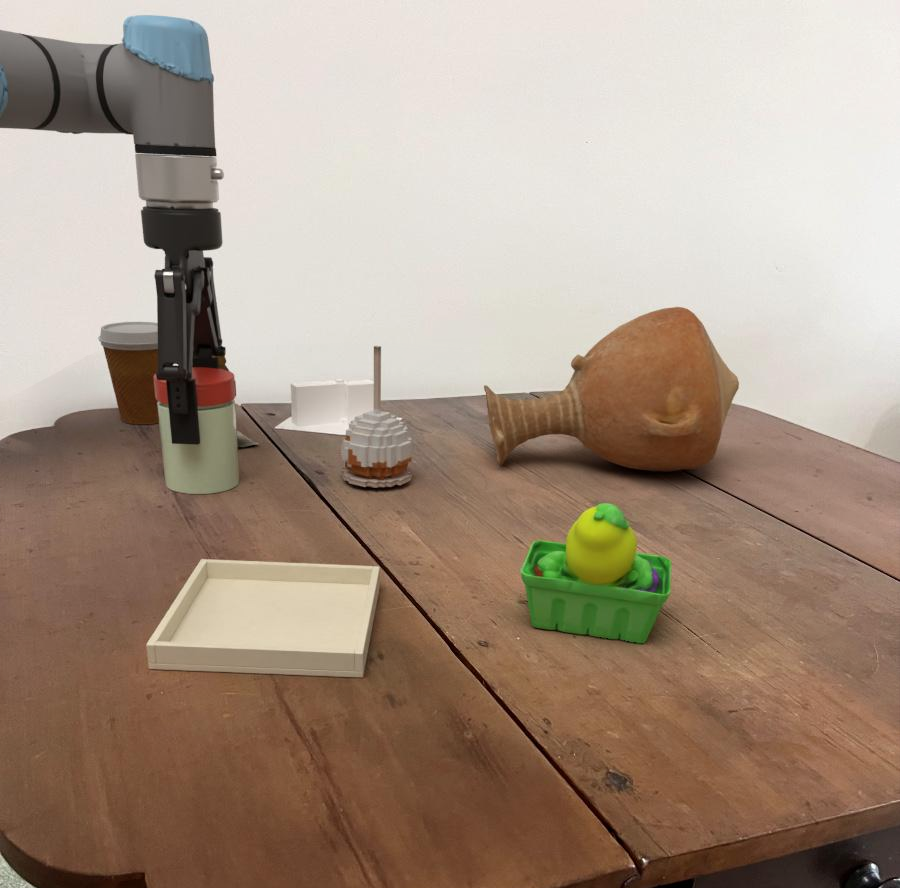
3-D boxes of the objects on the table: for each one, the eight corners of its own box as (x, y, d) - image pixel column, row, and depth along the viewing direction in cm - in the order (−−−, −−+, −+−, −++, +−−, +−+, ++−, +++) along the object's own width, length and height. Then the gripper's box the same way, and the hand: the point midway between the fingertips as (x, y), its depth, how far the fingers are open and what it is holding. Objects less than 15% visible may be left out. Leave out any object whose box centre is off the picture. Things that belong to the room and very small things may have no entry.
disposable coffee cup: (93, 418, 123) (81, 326, 117) (151, 406, 130) (142, 318, 125) (139, 432, 118) (129, 336, 113) (197, 418, 125) (189, 327, 120)
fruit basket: (663, 611, 77) (683, 483, 72) (660, 662, 69) (683, 521, 64) (528, 593, 79) (539, 467, 74) (511, 640, 71) (522, 503, 66)
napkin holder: (273, 428, 122) (271, 385, 120) (301, 408, 132) (300, 368, 130) (382, 438, 120) (382, 395, 117) (403, 417, 130) (403, 377, 127)
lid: (237, 388, 102) (236, 367, 101) (234, 406, 94) (233, 384, 93) (160, 388, 100) (158, 366, 99) (151, 406, 93) (148, 384, 92)
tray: (148, 669, 65) (145, 644, 64) (202, 580, 79) (200, 558, 78) (362, 677, 65) (362, 653, 64) (379, 587, 79) (380, 566, 78)
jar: (155, 492, 98) (145, 389, 93) (176, 469, 105) (167, 373, 100) (230, 495, 98) (224, 393, 93) (246, 472, 105) (240, 376, 100)
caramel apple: (367, 466, 109) (368, 336, 103) (423, 478, 106) (427, 345, 99) (328, 483, 103) (325, 346, 96) (386, 496, 100) (387, 356, 93)
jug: (783, 400, 96) (499, 427, 95) (736, 499, 113) (495, 523, 112) (736, 263, 105) (477, 287, 104) (699, 374, 122) (475, 395, 121)
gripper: (191, 213, 79) (210, 461, 89) (241, 201, 99) (252, 404, 109) (103, 209, 79) (131, 459, 89) (171, 198, 99) (188, 402, 109)
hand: (198, 429), depth 99 cm, fingers open, 10 cm apart
